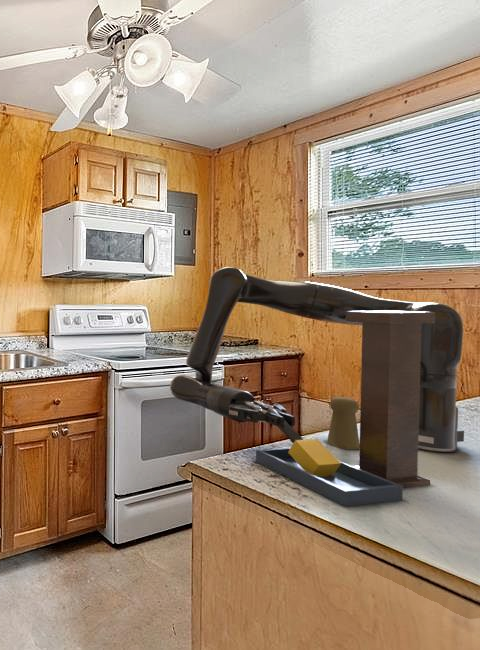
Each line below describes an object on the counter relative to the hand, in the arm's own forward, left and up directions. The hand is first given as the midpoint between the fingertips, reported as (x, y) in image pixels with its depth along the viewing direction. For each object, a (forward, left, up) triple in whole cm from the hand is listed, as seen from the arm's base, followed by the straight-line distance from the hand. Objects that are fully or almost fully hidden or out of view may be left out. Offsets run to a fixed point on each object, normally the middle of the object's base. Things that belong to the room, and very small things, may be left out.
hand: (287, 421), depth 89 cm
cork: (-22, -7, -9) cm, 25 cm away
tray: (0, +8, -9) cm, 12 cm away
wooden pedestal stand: (-12, +10, -9) cm, 18 cm away
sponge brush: (0, +1, -4) cm, 4 cm away
